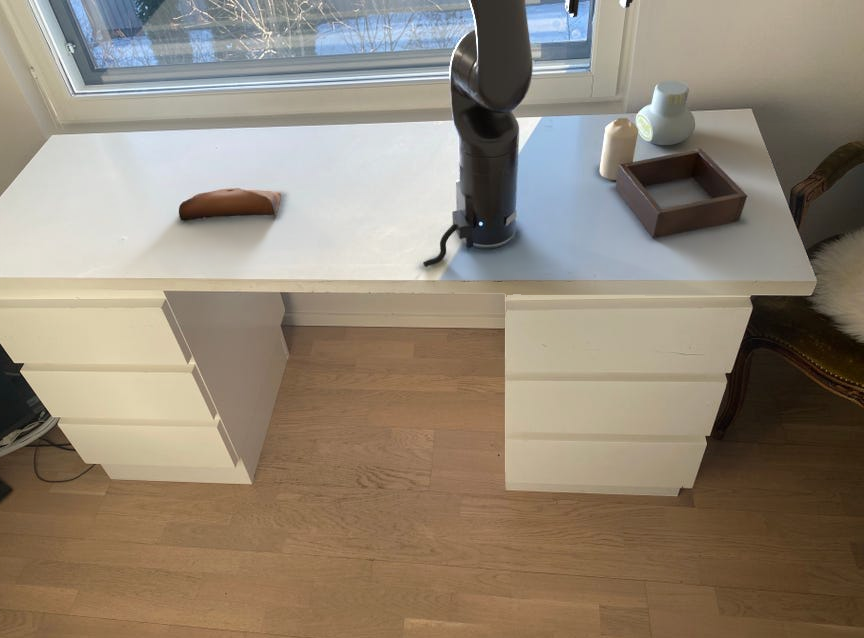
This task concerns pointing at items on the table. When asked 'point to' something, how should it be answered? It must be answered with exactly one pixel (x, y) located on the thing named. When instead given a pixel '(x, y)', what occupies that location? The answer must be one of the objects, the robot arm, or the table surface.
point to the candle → (617, 147)
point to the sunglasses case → (230, 204)
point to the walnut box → (687, 216)
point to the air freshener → (666, 115)
